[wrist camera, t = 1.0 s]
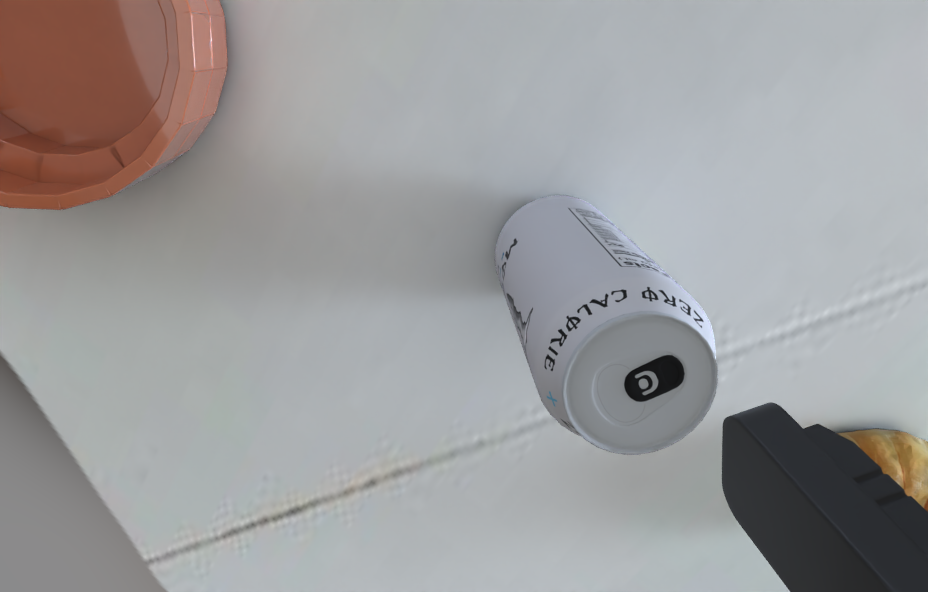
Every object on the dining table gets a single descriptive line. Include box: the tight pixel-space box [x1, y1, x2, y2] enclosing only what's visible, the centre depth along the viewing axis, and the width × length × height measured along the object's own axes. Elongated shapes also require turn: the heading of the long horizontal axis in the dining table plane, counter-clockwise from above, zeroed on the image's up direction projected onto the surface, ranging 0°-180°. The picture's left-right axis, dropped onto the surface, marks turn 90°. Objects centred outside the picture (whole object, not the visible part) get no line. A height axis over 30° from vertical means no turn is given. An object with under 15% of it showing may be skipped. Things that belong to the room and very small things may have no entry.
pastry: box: [837, 429, 928, 512], centre depth 40 cm, size 9×7×4 cm
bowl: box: [0, 0, 228, 210], centre depth 28 cm, size 13×13×6 cm
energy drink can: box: [495, 195, 718, 455], centre depth 29 cm, size 6×6×15 cm
